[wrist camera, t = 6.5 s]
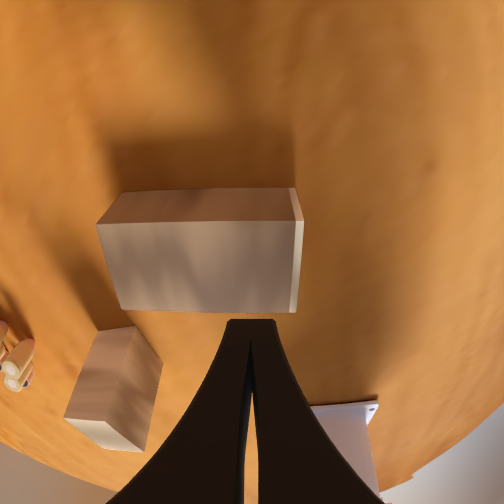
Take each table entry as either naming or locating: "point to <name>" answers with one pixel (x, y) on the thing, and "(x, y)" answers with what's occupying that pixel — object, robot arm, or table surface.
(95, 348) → the maple block
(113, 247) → the walnut block
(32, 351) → the ammunition
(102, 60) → the table surface
